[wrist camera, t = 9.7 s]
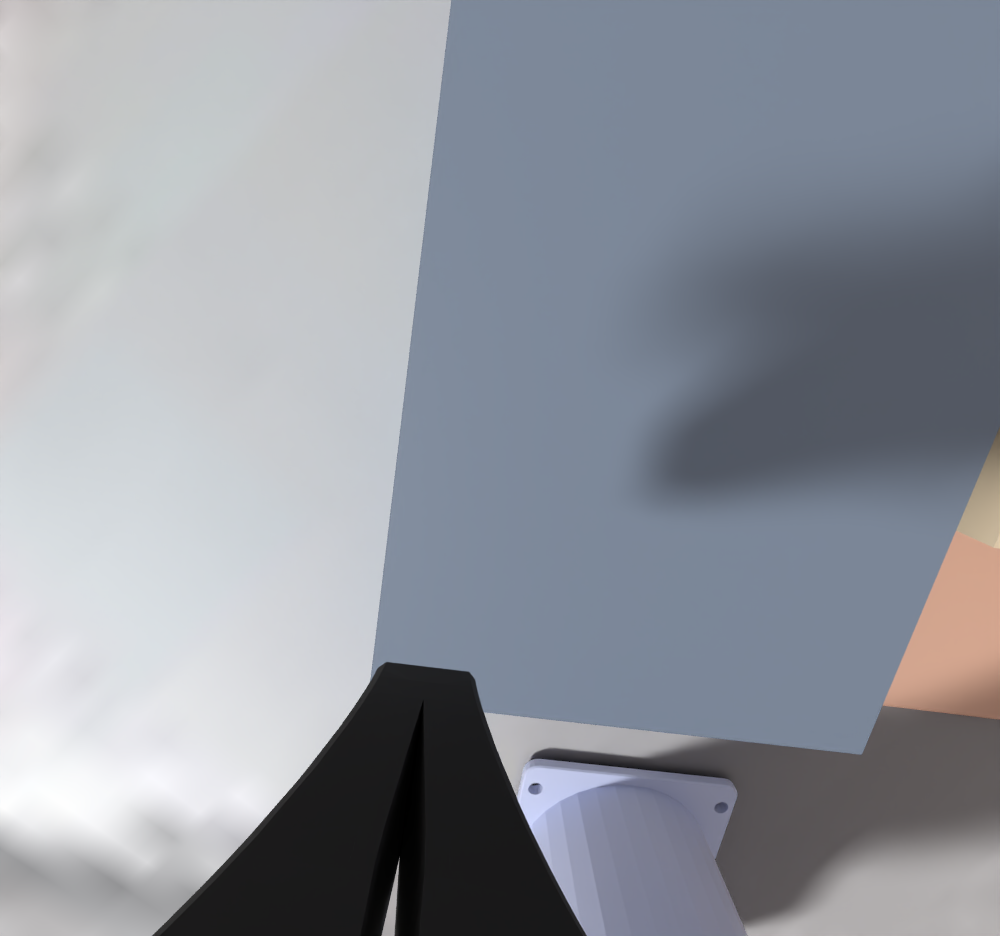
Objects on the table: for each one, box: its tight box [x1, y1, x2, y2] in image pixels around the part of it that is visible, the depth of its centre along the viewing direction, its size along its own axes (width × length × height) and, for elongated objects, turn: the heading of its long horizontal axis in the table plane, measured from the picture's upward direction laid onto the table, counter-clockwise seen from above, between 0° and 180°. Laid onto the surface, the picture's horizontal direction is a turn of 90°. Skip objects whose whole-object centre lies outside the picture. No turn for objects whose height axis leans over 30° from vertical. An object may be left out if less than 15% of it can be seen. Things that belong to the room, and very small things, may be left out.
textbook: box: [370, 0, 1000, 755], centre depth 15 cm, size 20×15×3 cm
